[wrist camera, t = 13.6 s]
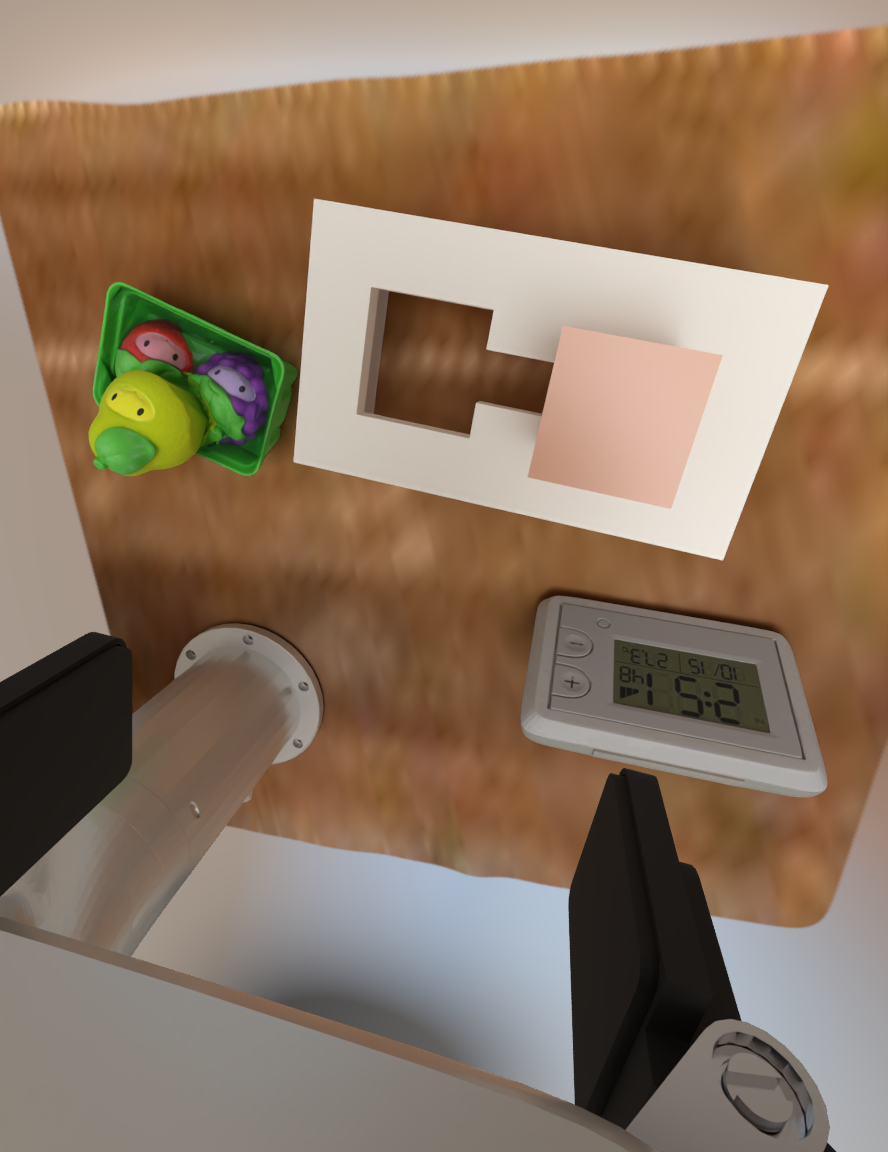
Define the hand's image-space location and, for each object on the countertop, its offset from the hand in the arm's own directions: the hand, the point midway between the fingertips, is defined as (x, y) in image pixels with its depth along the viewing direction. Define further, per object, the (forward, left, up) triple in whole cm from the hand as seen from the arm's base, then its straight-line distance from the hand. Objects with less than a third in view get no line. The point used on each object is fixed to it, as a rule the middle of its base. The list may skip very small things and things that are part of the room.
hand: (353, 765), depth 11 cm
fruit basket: (+1, +20, -30) cm, 36 cm away
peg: (+6, -4, -24) cm, 25 cm away
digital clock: (-9, -12, -30) cm, 33 cm away
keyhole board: (+6, 0, -29) cm, 30 cm away
